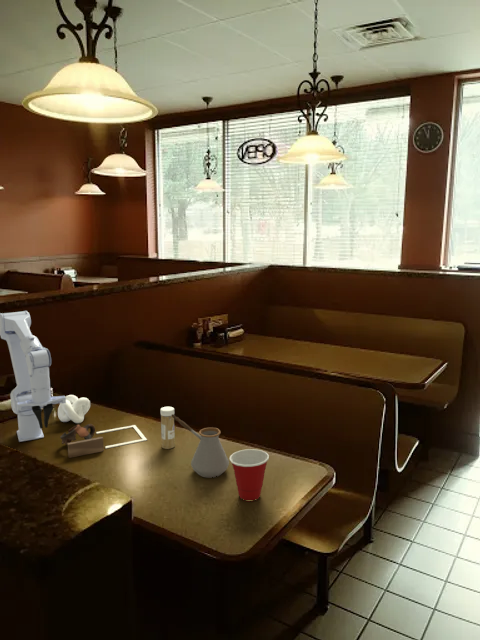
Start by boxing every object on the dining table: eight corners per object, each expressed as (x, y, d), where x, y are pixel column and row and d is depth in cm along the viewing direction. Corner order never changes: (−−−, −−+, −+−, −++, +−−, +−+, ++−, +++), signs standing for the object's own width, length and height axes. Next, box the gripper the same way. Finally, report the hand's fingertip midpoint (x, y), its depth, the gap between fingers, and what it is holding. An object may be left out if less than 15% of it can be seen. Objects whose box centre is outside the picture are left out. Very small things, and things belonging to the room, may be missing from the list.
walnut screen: (68, 456, 166) (67, 443, 165) (102, 449, 171) (102, 436, 170) (69, 457, 165) (68, 444, 164) (103, 450, 170) (103, 438, 169)
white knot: (84, 411, 204) (82, 390, 203) (97, 420, 195) (95, 398, 193) (55, 418, 197) (53, 396, 195) (67, 428, 188) (66, 405, 186)
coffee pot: (236, 469, 158) (236, 423, 155) (213, 485, 149) (213, 436, 146) (183, 451, 170) (182, 408, 167) (159, 464, 161) (157, 419, 158)
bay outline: (96, 432, 184) (96, 432, 184) (135, 425, 191) (135, 424, 191) (105, 448, 172) (105, 447, 172) (147, 440, 178) (147, 439, 178)
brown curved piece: (81, 456, 167) (67, 435, 166) (66, 461, 173) (52, 441, 172) (106, 434, 177) (93, 414, 176) (91, 439, 182) (78, 420, 181)
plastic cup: (245, 482, 150) (246, 443, 148) (276, 494, 144) (277, 454, 141) (221, 497, 142) (221, 456, 140) (252, 511, 136) (252, 468, 133)
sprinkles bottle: (175, 449, 172) (174, 410, 169) (161, 449, 171) (160, 411, 169) (175, 443, 176) (174, 405, 174) (161, 443, 176) (160, 406, 173)
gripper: (17, 394, 159) (20, 435, 161) (66, 387, 165) (68, 427, 168) (15, 387, 165) (18, 427, 168) (62, 381, 172) (65, 419, 174)
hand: (43, 426), depth 168 cm, fingers closed
